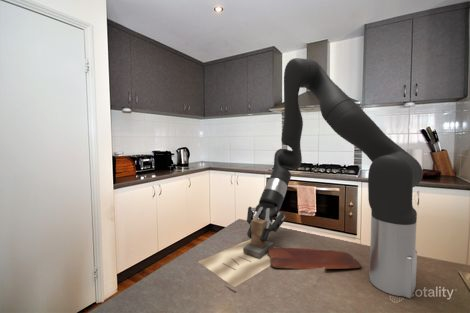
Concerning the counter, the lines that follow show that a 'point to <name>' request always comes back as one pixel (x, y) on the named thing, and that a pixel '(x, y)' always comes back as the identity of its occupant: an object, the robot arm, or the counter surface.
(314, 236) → the counter surface
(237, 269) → the birch board
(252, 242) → the block
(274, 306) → the counter surface
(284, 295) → the counter surface
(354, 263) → the wooden tablet
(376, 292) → the counter surface
